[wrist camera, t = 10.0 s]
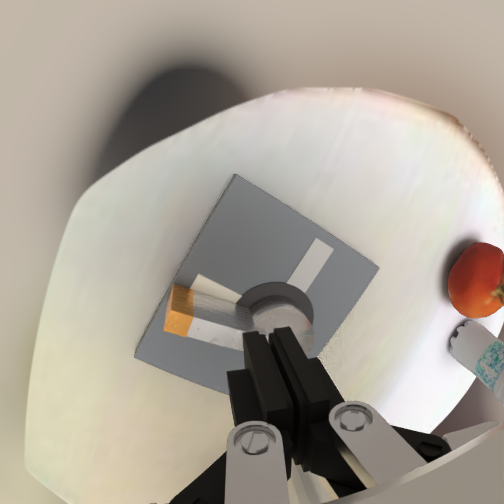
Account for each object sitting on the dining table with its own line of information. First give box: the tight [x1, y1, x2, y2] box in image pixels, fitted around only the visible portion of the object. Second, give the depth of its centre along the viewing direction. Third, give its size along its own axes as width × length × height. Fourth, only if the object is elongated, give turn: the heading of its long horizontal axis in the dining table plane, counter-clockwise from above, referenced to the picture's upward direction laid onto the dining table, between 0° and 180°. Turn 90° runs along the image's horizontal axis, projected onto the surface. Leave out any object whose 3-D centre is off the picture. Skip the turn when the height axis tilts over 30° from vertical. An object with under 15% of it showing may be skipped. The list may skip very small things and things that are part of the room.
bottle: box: [450, 321, 504, 406], centre depth 30 cm, size 7×7×20 cm
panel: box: [134, 174, 379, 395], centre depth 30 cm, size 17×20×1 cm
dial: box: [164, 284, 315, 356], centre depth 27 cm, size 13×6×5 cm, turn 67°
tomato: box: [447, 242, 504, 318], centre depth 31 cm, size 9×9×8 cm
